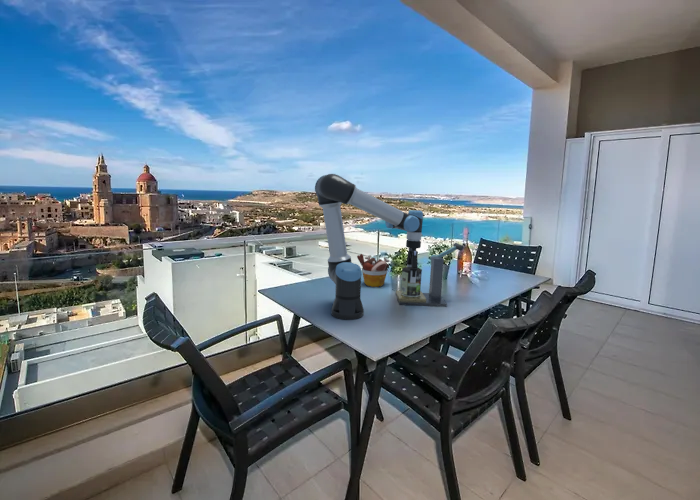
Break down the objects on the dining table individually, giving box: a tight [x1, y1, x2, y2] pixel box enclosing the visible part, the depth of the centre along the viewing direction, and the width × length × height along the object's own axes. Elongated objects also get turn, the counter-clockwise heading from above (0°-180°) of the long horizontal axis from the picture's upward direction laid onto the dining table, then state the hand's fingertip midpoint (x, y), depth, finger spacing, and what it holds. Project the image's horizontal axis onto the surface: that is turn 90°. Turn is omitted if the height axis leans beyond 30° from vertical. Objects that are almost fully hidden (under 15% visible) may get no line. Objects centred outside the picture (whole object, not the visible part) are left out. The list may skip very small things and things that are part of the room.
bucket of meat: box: [356, 253, 390, 288], centre depth 199 cm, size 20×16×20 cm
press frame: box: [395, 257, 448, 308], centre depth 171 cm, size 24×18×24 cm
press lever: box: [430, 242, 464, 259], centre depth 174 cm, size 18×8×4 cm, turn 87°
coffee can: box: [400, 266, 423, 297], centre depth 171 cm, size 10×10×14 cm
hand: (410, 279), depth 171 cm, fingers open, 13 cm apart
